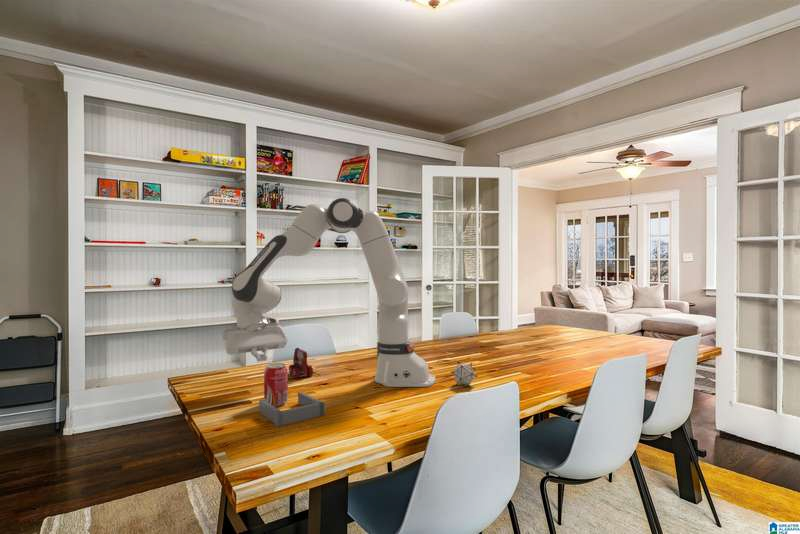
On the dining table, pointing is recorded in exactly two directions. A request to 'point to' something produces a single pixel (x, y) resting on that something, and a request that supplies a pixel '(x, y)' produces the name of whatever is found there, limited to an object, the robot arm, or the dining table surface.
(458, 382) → the game die
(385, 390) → the dining table surface
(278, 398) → the soda can
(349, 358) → the dining table surface
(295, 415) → the corral
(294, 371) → the toy fire truck
